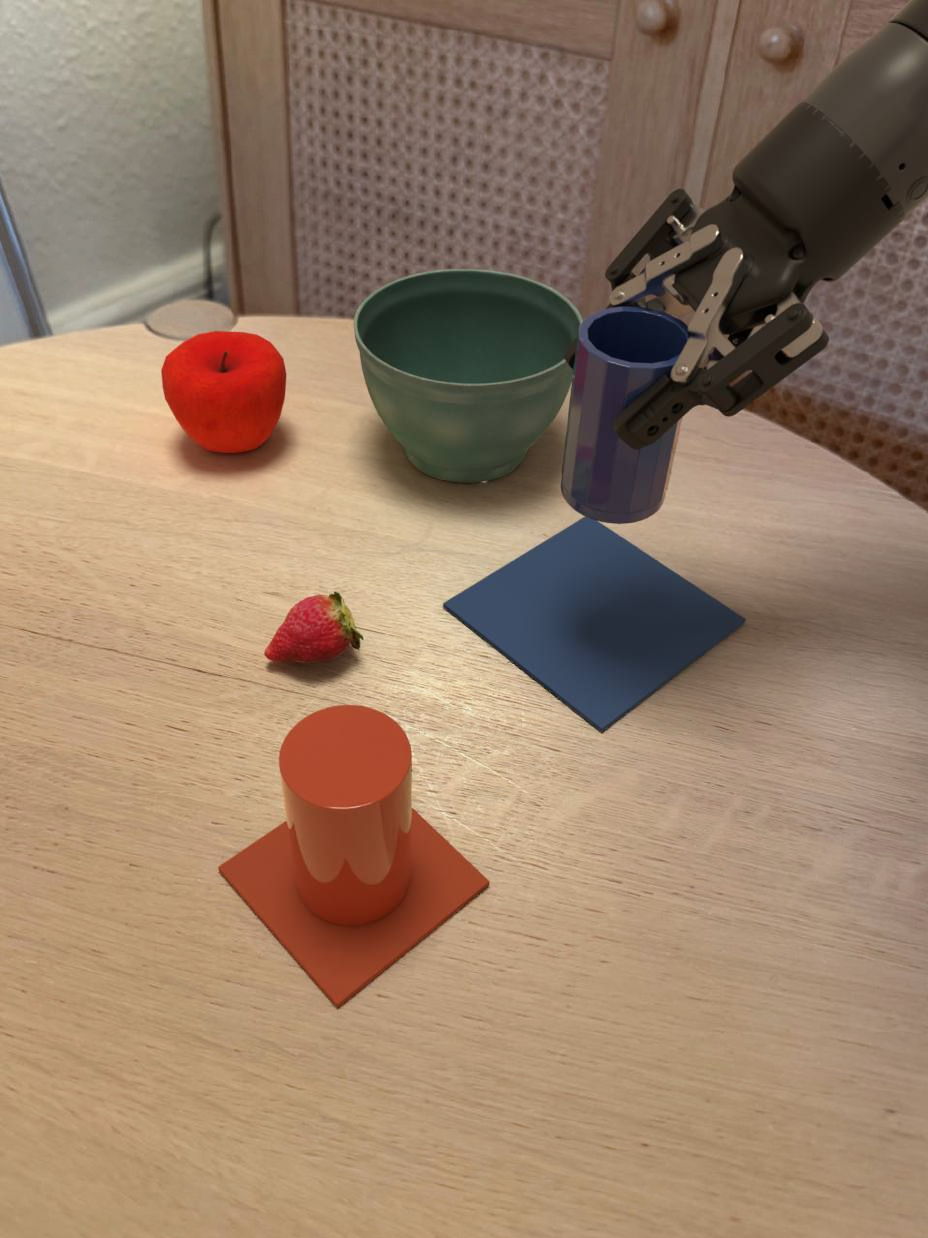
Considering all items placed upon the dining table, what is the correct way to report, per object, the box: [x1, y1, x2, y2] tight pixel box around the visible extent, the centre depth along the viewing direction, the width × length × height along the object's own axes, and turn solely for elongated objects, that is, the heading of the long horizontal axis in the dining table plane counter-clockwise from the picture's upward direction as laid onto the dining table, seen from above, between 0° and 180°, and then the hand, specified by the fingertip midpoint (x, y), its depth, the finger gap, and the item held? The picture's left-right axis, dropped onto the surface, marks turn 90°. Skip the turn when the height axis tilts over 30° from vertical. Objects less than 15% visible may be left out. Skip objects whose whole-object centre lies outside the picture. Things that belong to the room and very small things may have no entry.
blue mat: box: [442, 516, 747, 733], centre depth 71 cm, size 14×14×1 cm
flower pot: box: [353, 268, 584, 484], centre depth 79 cm, size 16×16×11 cm
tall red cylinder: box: [278, 704, 413, 926], centre depth 52 cm, size 6×6×10 cm
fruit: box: [263, 591, 364, 664], centre depth 66 cm, size 4×6×5 cm
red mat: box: [217, 807, 491, 1009], centre depth 56 cm, size 10×10×1 cm
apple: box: [160, 330, 287, 454], centre depth 80 cm, size 9×9×8 cm
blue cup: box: [560, 306, 688, 525], centre depth 59 cm, size 6×6×10 cm
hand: (598, 402), depth 57 cm, fingers closed on blue cup, 6 cm apart
